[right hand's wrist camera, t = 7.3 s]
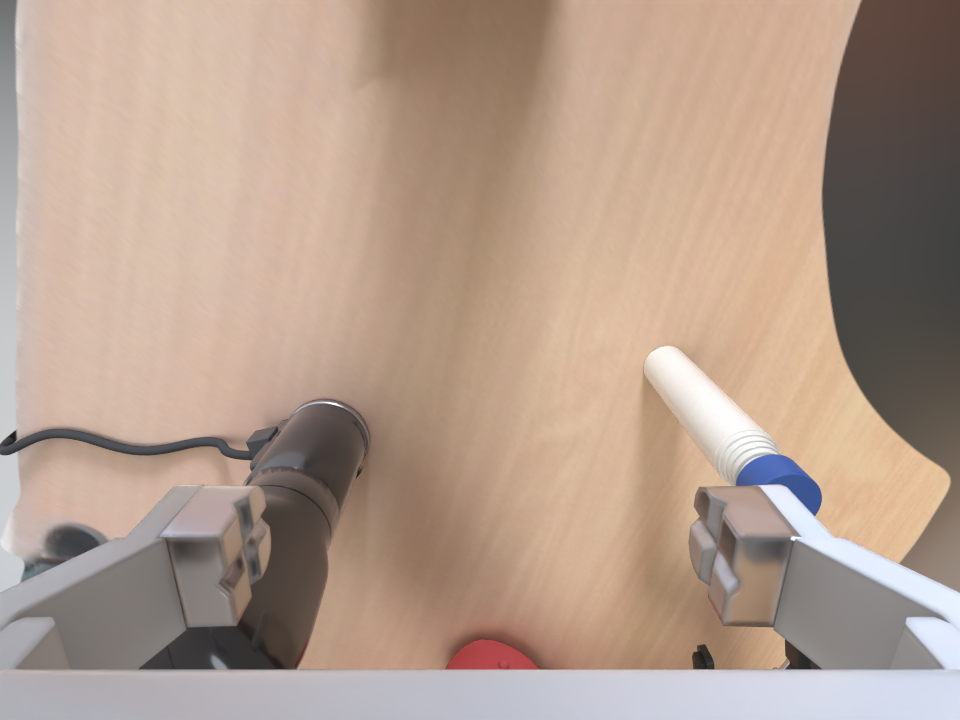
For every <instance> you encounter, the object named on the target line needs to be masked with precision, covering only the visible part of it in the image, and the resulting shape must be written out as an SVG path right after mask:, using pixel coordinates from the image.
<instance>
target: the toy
mask: <svg viewBox="0 0 960 720" xmlns="http://www.w3.org/2000/svg"><path fill="white" fill-rule="evenodd" d="M445 670H539V669H538V668H537V666H536V665H535V664H534V663H533V662H532V661H531V660H530V659H529V658H528V657H527V656H525V655H524V654H523V653H521V652H520V651H518V650H516V649H515V648H513V647H511V646H509V645H506V644H504V643H501V642H498V641H494V640H486V639H481V640H477V641H473V642H471V643H469V644H468V645H466V646H464V647H463V648H462V649H461V650H460V651H458V652H457V654H456V655H455V656H454V657H453V658H452V660H451V661H450V662H449V664H448V665H447V667H446V669H445Z"/></svg>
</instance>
